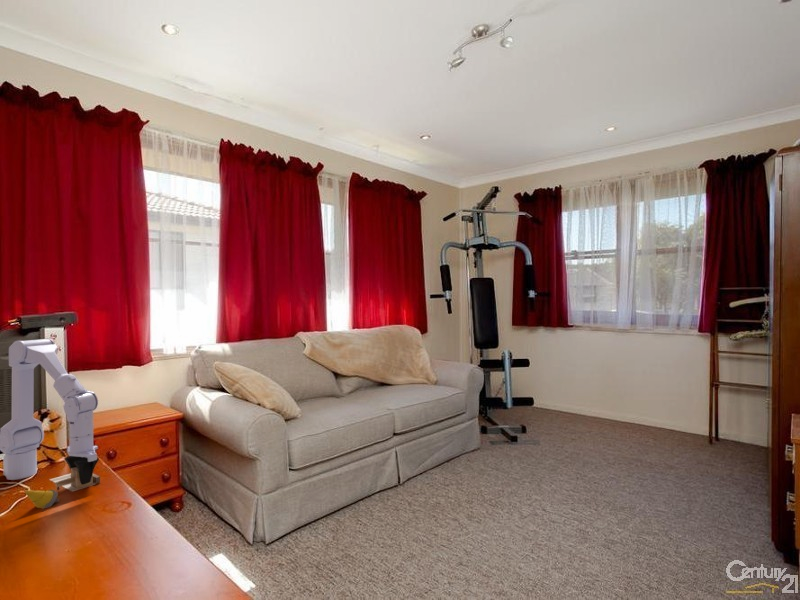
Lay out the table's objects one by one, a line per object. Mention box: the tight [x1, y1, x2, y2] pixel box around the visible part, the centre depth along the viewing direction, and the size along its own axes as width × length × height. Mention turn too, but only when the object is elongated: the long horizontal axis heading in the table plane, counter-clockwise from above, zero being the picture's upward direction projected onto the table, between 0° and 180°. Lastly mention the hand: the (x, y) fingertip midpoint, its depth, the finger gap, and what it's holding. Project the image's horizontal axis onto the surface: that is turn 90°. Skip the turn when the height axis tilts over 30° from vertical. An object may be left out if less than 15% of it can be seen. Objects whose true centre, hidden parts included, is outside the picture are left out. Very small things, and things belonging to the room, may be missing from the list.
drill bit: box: [23, 489, 61, 512], centre depth 114 cm, size 5×5×10 cm
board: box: [49, 472, 101, 493], centre depth 130 cm, size 16×7×3 cm, turn 57°
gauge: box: [54, 467, 94, 491], centre depth 126 cm, size 4×8×5 cm, turn 147°
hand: (81, 481), depth 128 cm, fingers open, 4 cm apart
